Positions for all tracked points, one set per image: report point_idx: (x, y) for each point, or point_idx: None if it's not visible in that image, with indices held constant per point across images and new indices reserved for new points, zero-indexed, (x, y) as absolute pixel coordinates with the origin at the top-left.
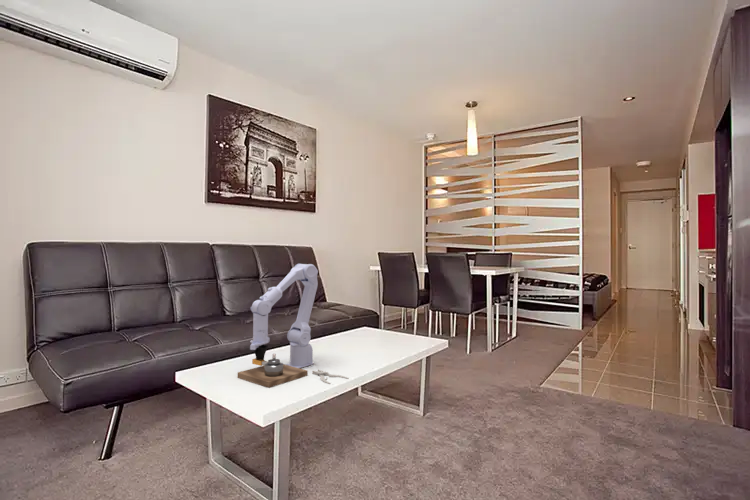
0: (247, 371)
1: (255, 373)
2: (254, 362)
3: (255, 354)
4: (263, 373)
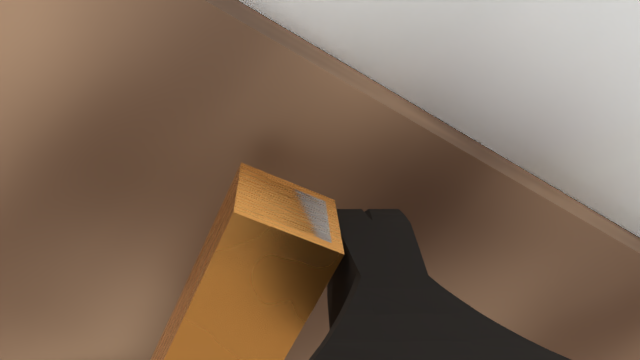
0: (141, 66)
1: (72, 245)
2: (212, 237)
3: (342, 312)
4: (111, 348)
